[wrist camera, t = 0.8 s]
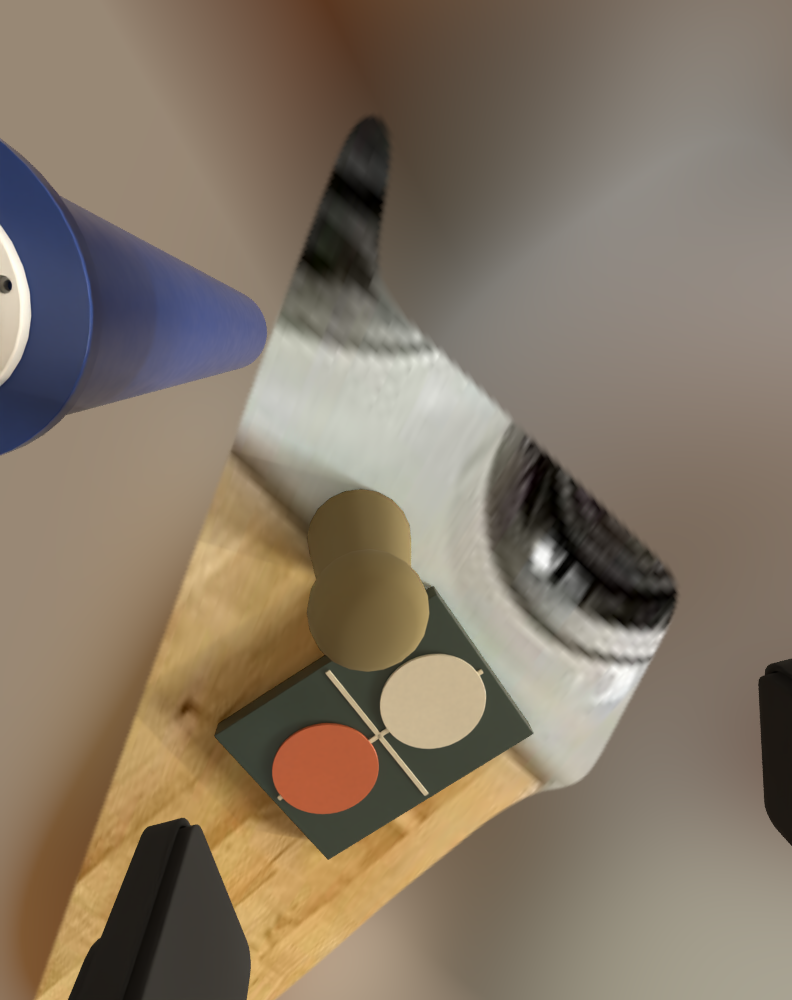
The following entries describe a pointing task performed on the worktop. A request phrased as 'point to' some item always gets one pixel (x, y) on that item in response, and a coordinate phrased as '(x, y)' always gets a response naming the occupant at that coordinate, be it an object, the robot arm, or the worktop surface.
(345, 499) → the cork
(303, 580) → the worktop surface
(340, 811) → the board
